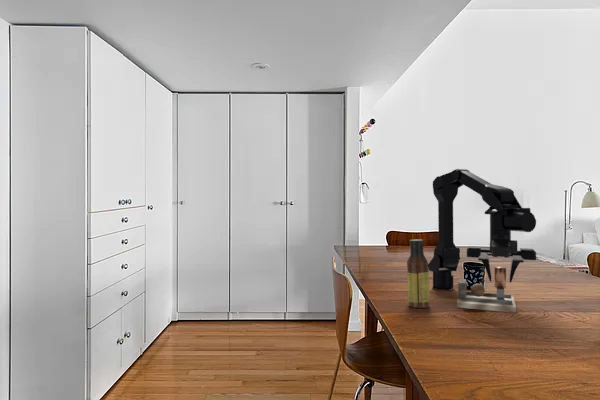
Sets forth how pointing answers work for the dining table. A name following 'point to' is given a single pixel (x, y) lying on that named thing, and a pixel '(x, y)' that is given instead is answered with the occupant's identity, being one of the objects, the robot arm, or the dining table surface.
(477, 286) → the walnut
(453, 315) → the dining table surface
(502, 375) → the dining table surface
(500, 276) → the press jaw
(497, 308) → the nutcracker board
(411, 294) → the sauce bottle
